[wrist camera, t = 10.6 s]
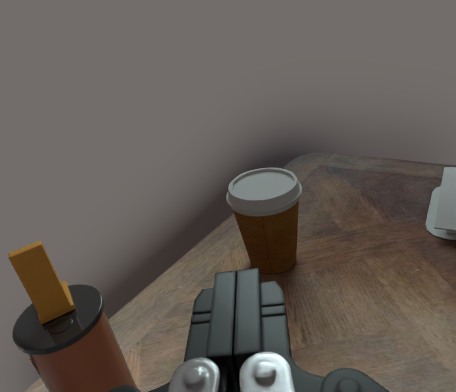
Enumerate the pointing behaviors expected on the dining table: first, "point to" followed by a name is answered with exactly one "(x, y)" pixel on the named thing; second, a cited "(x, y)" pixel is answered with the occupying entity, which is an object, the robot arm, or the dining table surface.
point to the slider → (41, 282)
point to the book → (443, 207)
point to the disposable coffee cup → (267, 216)
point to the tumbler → (74, 346)
